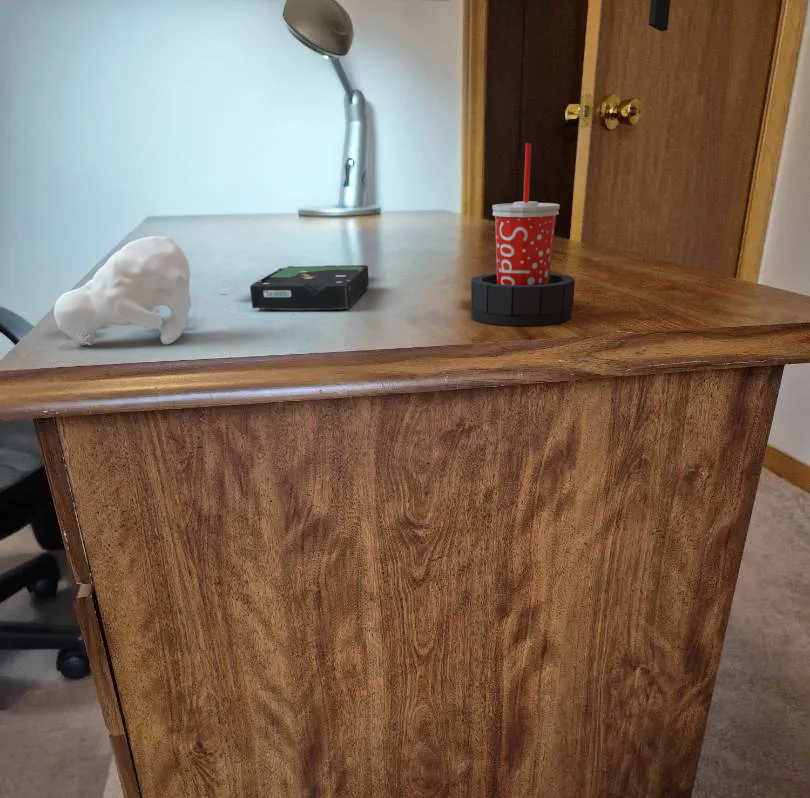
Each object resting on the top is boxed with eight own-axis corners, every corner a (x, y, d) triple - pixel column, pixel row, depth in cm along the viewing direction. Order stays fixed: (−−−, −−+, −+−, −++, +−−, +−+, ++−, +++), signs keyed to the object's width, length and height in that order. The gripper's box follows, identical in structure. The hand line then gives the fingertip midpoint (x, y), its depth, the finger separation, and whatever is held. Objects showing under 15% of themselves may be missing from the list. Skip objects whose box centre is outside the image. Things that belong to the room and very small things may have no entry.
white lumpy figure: (183, 235, 65) (30, 258, 62) (207, 339, 69) (64, 364, 66) (179, 229, 70) (39, 250, 68) (202, 325, 74) (69, 348, 72)
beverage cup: (476, 304, 77) (479, 144, 71) (525, 297, 80) (532, 143, 74) (517, 314, 72) (524, 143, 66) (567, 306, 75) (578, 142, 69)
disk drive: (350, 313, 81) (369, 287, 94) (348, 284, 80) (368, 263, 93) (251, 313, 82) (284, 288, 95) (248, 285, 81) (282, 263, 94)
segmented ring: (592, 318, 75) (595, 280, 73) (508, 330, 71) (509, 290, 69) (531, 304, 82) (533, 268, 81) (452, 314, 78) (452, 277, 77)
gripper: (897, -280, 71) (855, -12, 77) (652, -163, 89) (632, 48, 95) (867, -327, 67) (824, -38, 72) (614, -194, 84) (595, 30, 90)
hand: (715, 11), depth 83 cm, fingers open, 13 cm apart
